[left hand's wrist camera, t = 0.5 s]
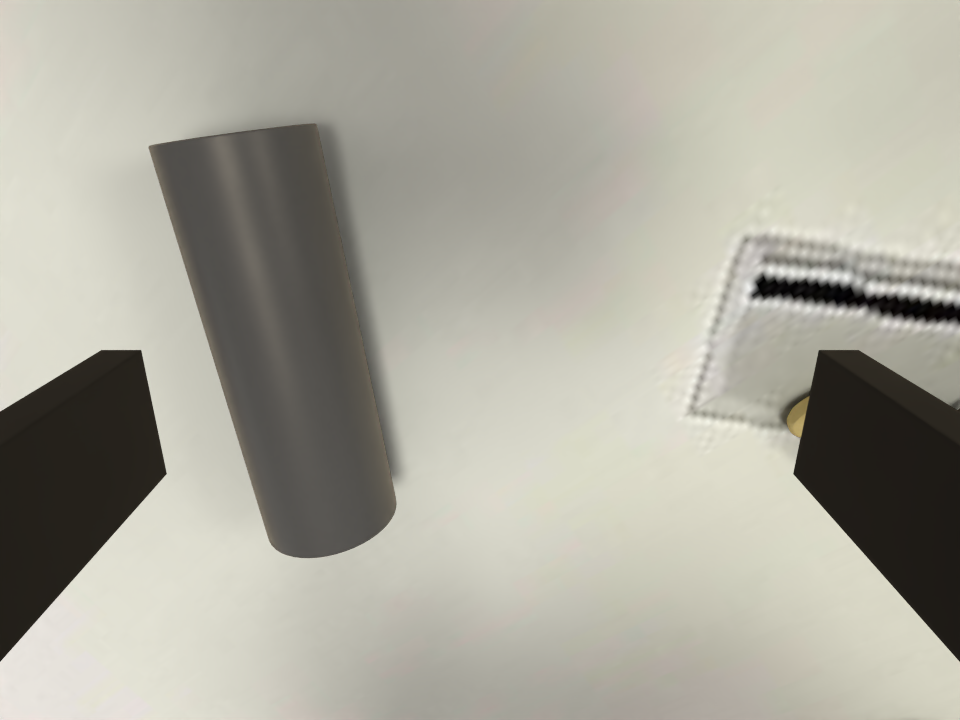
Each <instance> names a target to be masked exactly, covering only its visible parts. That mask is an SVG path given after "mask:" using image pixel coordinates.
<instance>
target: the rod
mask: <svg viewBox="0 0 960 720" xmlns="http://www.w3.org/2000/svg"><path fill="white" fill-rule="evenodd" d="M149 150H150V154H151V157H152V160H153V163H154V167H155V170H156V173H157V177H158V180H159V183H160V186H161V190H162V193H163V196H164V199H165V203H166V206H167V209H168V212H169V216H170V219H171V222H172V225H173V229H174V232H175V235H176V238H177V242H178V245H179V248H180V252H181V255H182V258H183V261H184V265H185V268H186V271H187V274H188V278H189V281H190V284H191V287H192V291H193V294H194V297H195V300H196V304H197V307H198V310H199V313H200V317H201V320H202V323H203V326H204V330H205V333H206V336H207V340H208V343H209V346H210V349H211V353H212V356H213V359H214V362H215V366H216V369H217V372H218V375H219V379H220V382H221V385H222V388H223V392H224V395H225V398H226V401H227V405H228V408H229V411H230V415H231V418H232V421H233V424H234V428H235V431H236V434H237V437H238V441H239V444H240V447H241V450H242V454H243V457H244V460H245V463H246V467H247V470H248V473H249V476H250V480H251V483H252V486H253V490H254V493H255V496H256V499H257V503H258V506H259V509H260V512H261V516H262V519H263V522H264V525H265V529H266V532H267V535H268V538H269V541H270V543H271V545H272V546H273V547H274V548H275V549H276V550H278V551H279V552H281V553H283V554H285V555H288V556H292V557H299V558H318V557H325V556H330V555H334V554H338V553H341V552H344V551H347V550H350V549H352V548H355V547H357V546H359V545H361V544H363V543H365V542H366V541H368V540H370V539H371V538H373V537H374V536H375V535H377V534H378V533H379V532H380V531H381V530H383V529H384V528H385V527H386V525H387V524H388V523H389V522H390V520H391V519H392V517H393V515H394V513H395V510H396V497H395V492H394V487H393V483H392V478H391V473H390V469H389V464H388V459H387V454H386V450H385V445H384V440H383V435H382V431H381V426H380V421H379V417H378V412H377V407H376V402H375V398H374V393H373V388H372V384H371V379H370V374H369V369H368V365H367V360H366V355H365V350H364V346H363V341H362V336H361V332H360V327H359V322H358V317H357V313H356V308H355V303H354V298H353V294H352V289H351V284H350V280H349V275H348V270H347V265H346V261H345V256H344V251H343V247H342V242H341V237H340V232H339V228H338V223H337V218H336V213H335V209H334V204H333V199H332V195H331V190H330V185H329V180H328V176H327V171H326V166H325V161H324V157H323V152H322V147H321V143H320V138H319V133H318V128H317V125H316V124H302V125H293V126H284V127H275V128H267V129H259V130H251V131H244V132H236V133H228V134H221V135H214V136H207V137H200V138H193V139H186V140H179V141H173V142H167V143H161V144H155V145H151V146H149Z"/></svg>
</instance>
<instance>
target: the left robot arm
mask: <svg viewBox="0 0 960 720" xmlns="http://www.w3.org/2000/svg"><path fill="white" fill-rule="evenodd" d="M166 474H167V473H166V468H165V464H164V459H163V454H162V449H161V444H160V439H159V435H158V430H157V425H156V420H155V415H154V410H153V406H152V401H151V396H150V391H149V386H148V381H147V376H146V372H145V367H144V362H143V357H142V352H141V350H101V351H99V352H98V353H96V354H94V355H93V356H91V357H90V358H88V359H86V360H85V361H83V362H81V363H80V364H78V365H76V366H75V367H73V368H71V369H70V370H68V371H66V372H65V373H63V374H62V375H60V376H58V377H57V378H55V379H53V380H52V381H50V382H48V383H47V384H45V385H43V386H42V387H40V388H38V389H37V390H35V391H34V392H32V393H30V394H29V395H27V396H25V397H24V398H22V399H20V400H19V401H17V402H15V403H14V404H12V405H10V406H9V407H7V408H6V409H4V410H2V411H1V412H0V661H1V660H2V659H3V658H4V657H5V656H6V655H7V653H8V652H9V651H10V650H11V649H12V648H13V647H14V646H15V644H16V643H17V642H18V641H19V640H20V639H21V638H22V636H23V635H24V634H25V633H26V632H27V631H28V630H29V629H30V627H31V626H32V625H33V624H34V623H35V622H36V621H37V620H38V618H39V617H40V616H41V615H42V614H43V613H44V612H45V611H46V609H47V608H48V607H49V606H50V605H51V604H52V603H53V602H54V600H55V599H56V598H57V597H58V596H59V595H60V594H61V592H62V591H63V590H64V589H65V588H66V587H67V586H68V585H69V583H70V582H71V581H72V580H73V579H74V578H75V577H76V576H77V574H78V573H79V572H80V571H81V570H82V569H83V568H84V567H85V565H86V564H87V563H88V562H89V561H90V560H91V559H92V558H93V556H94V555H95V554H96V553H97V552H98V551H99V550H100V548H101V547H102V546H103V545H104V544H105V543H106V542H107V541H108V539H109V538H110V537H111V536H112V535H113V534H114V533H115V532H116V530H117V529H118V528H119V527H120V526H121V525H122V524H123V523H124V521H125V520H126V519H127V518H128V517H129V516H130V515H131V514H132V512H133V511H134V510H135V509H136V508H137V507H138V506H139V504H140V503H141V502H142V501H143V500H144V499H145V498H146V497H147V495H148V494H149V493H150V492H151V491H152V490H153V489H154V488H155V486H156V485H157V484H158V483H159V482H160V481H161V480H162V479H163V477H164V476H165V475H166ZM793 474H794V475H795V476H796V477H797V479H798V480H799V481H800V482H801V483H802V484H803V485H804V486H805V488H806V489H807V490H808V491H809V492H810V493H811V494H812V495H813V497H814V498H815V499H816V500H817V501H818V502H819V503H820V504H821V506H822V507H823V508H824V509H825V510H826V511H827V512H828V514H829V515H830V516H831V517H832V518H833V519H834V520H835V521H836V523H837V524H838V525H839V526H840V527H841V528H842V529H843V530H844V532H845V533H846V534H847V535H848V536H849V537H850V538H851V539H852V541H853V542H854V543H855V544H856V545H857V546H858V547H859V548H860V550H861V551H862V552H863V553H864V554H865V555H866V556H867V558H868V559H869V560H870V561H871V562H872V563H873V564H874V565H875V567H876V568H877V569H878V570H879V571H880V572H881V573H882V574H883V576H884V577H885V578H886V579H887V580H888V581H889V582H890V583H891V585H892V586H893V587H894V588H895V589H896V590H897V591H898V592H899V594H900V595H901V596H902V597H903V598H904V599H905V600H906V602H907V603H908V604H909V605H910V606H911V607H912V608H913V609H914V611H915V612H916V613H917V614H918V615H919V616H920V617H921V618H922V620H923V621H924V622H925V623H926V624H927V625H928V626H929V627H930V629H931V630H932V631H933V632H934V633H935V634H936V635H937V636H938V638H939V639H940V640H941V641H942V642H943V643H944V644H945V646H946V647H947V648H948V649H949V650H950V651H951V652H952V653H953V655H954V656H955V657H956V658H957V659H958V660H959V661H960V412H959V411H958V410H956V409H954V408H953V407H951V406H949V405H948V404H946V403H945V402H943V401H941V400H940V399H938V398H936V397H935V396H933V395H931V394H930V393H928V392H926V391H925V390H923V389H922V388H920V387H918V386H917V385H915V384H913V383H912V382H910V381H908V380H907V379H905V378H903V377H902V376H900V375H898V374H897V373H895V372H894V371H892V370H890V369H889V368H887V367H885V366H884V365H882V364H880V363H879V362H877V361H875V360H874V359H872V358H870V357H869V356H867V355H866V354H864V353H862V352H861V351H859V350H819V352H818V357H817V362H816V367H815V372H814V376H813V381H812V386H811V391H810V396H809V401H808V406H807V410H806V415H805V420H804V425H803V430H802V435H801V439H800V444H799V449H798V454H797V459H796V464H795V468H794V473H793Z"/></svg>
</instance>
